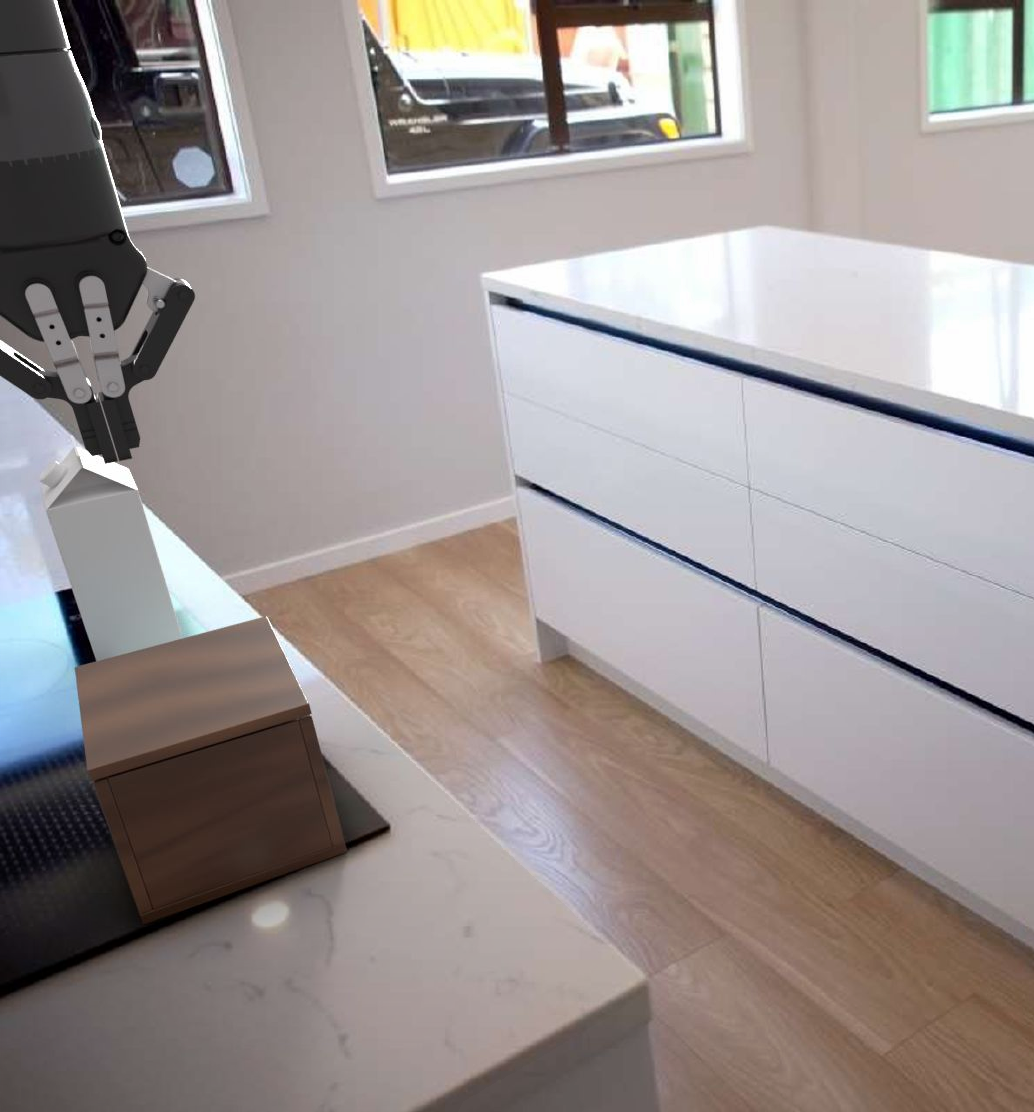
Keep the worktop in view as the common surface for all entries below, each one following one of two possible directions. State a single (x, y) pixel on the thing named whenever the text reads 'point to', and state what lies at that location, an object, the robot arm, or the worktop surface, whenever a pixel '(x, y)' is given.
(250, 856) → the bin
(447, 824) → the worktop surface
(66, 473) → the milk carton
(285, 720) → the lid
